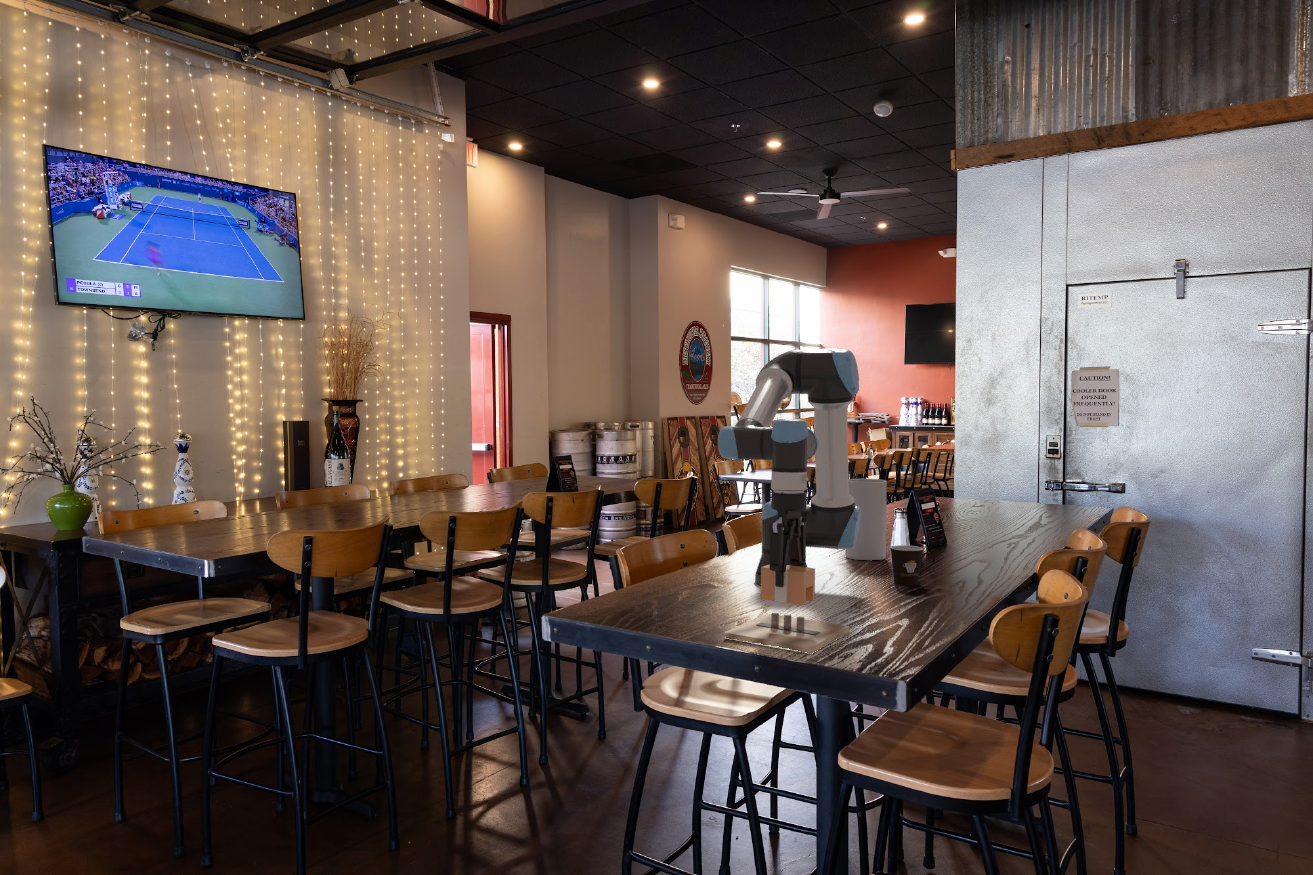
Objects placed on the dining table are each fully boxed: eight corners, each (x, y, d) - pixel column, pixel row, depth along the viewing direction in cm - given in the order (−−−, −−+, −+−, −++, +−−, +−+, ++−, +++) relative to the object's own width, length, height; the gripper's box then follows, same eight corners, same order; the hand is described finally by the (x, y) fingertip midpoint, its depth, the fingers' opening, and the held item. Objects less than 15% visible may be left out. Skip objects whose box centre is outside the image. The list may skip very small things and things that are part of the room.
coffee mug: (887, 585, 241) (888, 549, 241) (891, 579, 249) (892, 544, 249) (932, 589, 237) (932, 552, 236) (934, 582, 245) (935, 547, 244)
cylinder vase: (842, 554, 289) (843, 478, 288) (880, 554, 289) (881, 478, 288) (849, 561, 277) (850, 482, 275) (889, 561, 276) (890, 482, 275)
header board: (724, 639, 187) (724, 618, 187) (766, 619, 203) (767, 600, 203) (811, 654, 176) (811, 632, 175) (849, 632, 192) (849, 612, 192)
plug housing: (760, 599, 189) (761, 567, 189) (772, 594, 194) (772, 563, 194) (803, 605, 184) (804, 572, 184) (814, 600, 188) (815, 568, 188)
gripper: (785, 495, 178) (784, 609, 179) (822, 489, 194) (821, 593, 195) (752, 493, 182) (751, 604, 183) (791, 487, 198) (790, 589, 199)
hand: (787, 598), depth 189 cm, fingers closed on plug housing, 6 cm apart
